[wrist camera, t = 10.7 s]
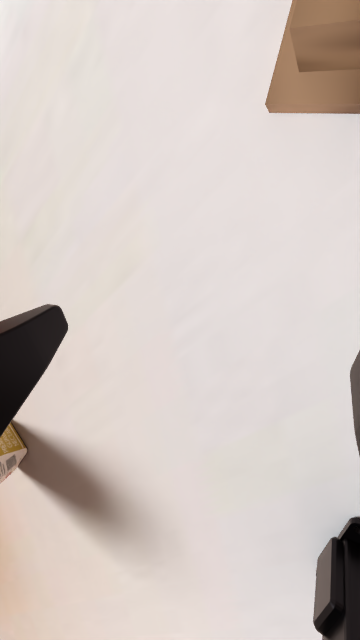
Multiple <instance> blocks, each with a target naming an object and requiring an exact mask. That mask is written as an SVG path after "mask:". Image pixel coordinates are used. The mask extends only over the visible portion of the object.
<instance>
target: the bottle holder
mask: <svg viewBox="0 0 360 640" xmlns="http://www.w3.org/2000/svg"><path fill="white" fill-rule="evenodd" d="M265 105H266V107H267V109H268V111H269V113H352V114H360V0H293V1H292V5H291V8H290V12H289V16H288V20H287V23H286V27H285V31H284V35H283V39H282V42H281V46H280V50H279V54H278V58H277V61H276V65H275V69H274V73H273V77H272V80H271V84H270V88H269V92H268V96H267V99H266V103H265Z"/></svg>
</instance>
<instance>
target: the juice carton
mask: <svg viewBox="0 0 360 640" xmlns="http://www.w3.org/2000/svg"><path fill="white" fill-rule="evenodd" d="M26 453H27V448H26V447H25V445H24V443H23V442H22V440H21V438H20V437H19V435H18V434H17V432H16V430H15V429H14V427H13V426H12V424H11V423H10V424H9V425H8V427H7V428H6V430H5V431H4V433H3V434H2V436H1V437H0V483H1V482H2V481H4V480H5V479H6V478H7V477H8V476H9V475H10V474H11V473H12V472H13V471H14V470H15V469H16V468H17V467H18V465H19V463H20V461H21V460H22V459H23V457H24V456H25V455H26Z"/></svg>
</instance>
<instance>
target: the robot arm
mask: <svg viewBox="0 0 360 640" xmlns="http://www.w3.org/2000/svg"><path fill="white" fill-rule="evenodd" d="M67 331H68V323H67V321H66V318H65V316H64V314H63V311H62V309H61V308H60V307H59V306H57V305H51V304H46V305H43V306H41V307H38V308H35V309H33V310H30V311H27V312H25V313H22V314H19V315H16V316H14V317H11V318H8V319H6V320H3V321H0V437H1V436H2V434H3V433H4V431H5V430H6V428H7V427H8V425H9V424H10V422H11V421H12V419H13V418H14V416H15V415H16V414H17V412H18V411H19V409H20V408H21V406H22V405H23V403H24V402H25V400H26V399H27V397H28V396H29V394H30V393H31V391H32V390H33V388H34V387H35V385H36V384H37V382H38V381H39V379H40V378H41V377H42V375H43V374H44V372H45V370H46V369H47V367H48V366H49V364H50V362H51V360H52V358H53V357H54V355H55V353H56V351H57V349H58V347H59V346H60V344H61V342H62V340H63V338H64V336H65V335H66V333H67ZM350 382H351V394H352V406H353V418H354V429H355V436H356V441H357V446H358V451H359V455H360V351H359V353H358V355H357V357H356V359H355V361H354V363H353V365H352V367H351V371H350ZM355 526H357V527H360V519H359V518H351V519H350V520H349V521H348V523H347V524H346V525H345V527H344V528H343V530H342V531H341V533H340V534H339V536H338V537H333V538H331V539H330V541H329V542H328V544H327V545H326V547H325V548H324V550H323V551H322V553H321V554H320V556H319V557H318V562H317V569H316V589H315V603H314V617H313V623H314V625H315V628H316V630H317V631H318V632H319V633H321V634H322V635H323V636H322V640H360V528H357V527H355Z"/></svg>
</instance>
